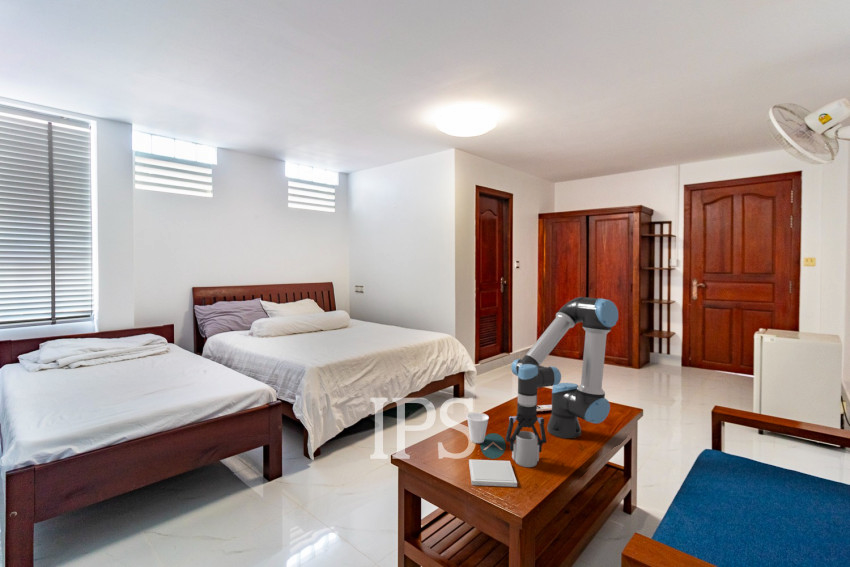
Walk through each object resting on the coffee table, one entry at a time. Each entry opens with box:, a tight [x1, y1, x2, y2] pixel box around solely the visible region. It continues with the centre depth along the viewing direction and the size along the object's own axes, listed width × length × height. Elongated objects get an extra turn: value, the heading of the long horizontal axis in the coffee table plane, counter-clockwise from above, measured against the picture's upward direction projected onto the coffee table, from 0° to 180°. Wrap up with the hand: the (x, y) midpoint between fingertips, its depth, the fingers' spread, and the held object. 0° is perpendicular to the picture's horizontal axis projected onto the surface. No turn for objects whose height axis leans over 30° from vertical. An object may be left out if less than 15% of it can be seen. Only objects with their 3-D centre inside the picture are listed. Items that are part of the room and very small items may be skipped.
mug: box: [514, 430, 538, 468], centre depth 164 cm, size 12×8×11 cm
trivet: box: [468, 459, 518, 488], centre depth 153 cm, size 16×16×2 cm
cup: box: [466, 412, 490, 444], centre depth 181 cm, size 10×10×11 cm
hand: (525, 459), depth 164 cm, fingers closed on mug, 9 cm apart
